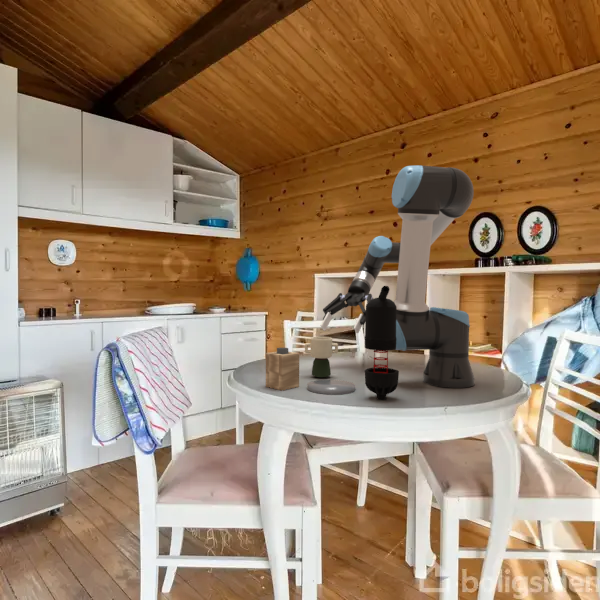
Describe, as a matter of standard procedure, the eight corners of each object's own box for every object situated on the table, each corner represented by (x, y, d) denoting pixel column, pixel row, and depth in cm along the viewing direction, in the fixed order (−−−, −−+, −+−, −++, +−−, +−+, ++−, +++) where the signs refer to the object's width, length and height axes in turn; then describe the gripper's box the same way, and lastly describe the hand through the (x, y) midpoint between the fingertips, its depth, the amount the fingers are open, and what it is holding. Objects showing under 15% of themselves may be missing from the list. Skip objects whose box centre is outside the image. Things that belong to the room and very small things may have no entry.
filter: (404, 404, 112) (405, 285, 112) (368, 404, 112) (369, 285, 111) (390, 391, 126) (391, 286, 125) (358, 391, 125) (359, 285, 125)
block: (299, 386, 131) (299, 353, 131) (282, 390, 126) (282, 355, 126) (282, 383, 136) (282, 350, 136) (265, 386, 131) (265, 353, 131)
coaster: (364, 388, 129) (365, 384, 129) (335, 397, 119) (335, 392, 119) (327, 381, 139) (327, 377, 139) (297, 388, 129) (297, 384, 129)
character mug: (337, 375, 149) (337, 336, 149) (338, 379, 142) (338, 339, 142) (304, 374, 150) (304, 336, 149) (304, 379, 142) (304, 338, 142)
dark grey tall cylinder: (290, 382, 131) (290, 348, 131) (282, 383, 129) (282, 349, 129) (282, 380, 134) (282, 347, 133) (274, 382, 131) (274, 348, 131)
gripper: (395, 293, 160) (374, 339, 148) (336, 292, 175) (314, 333, 164) (388, 278, 156) (366, 324, 144) (329, 279, 171) (305, 320, 159)
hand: (338, 329), depth 154 cm, fingers open, 13 cm apart
